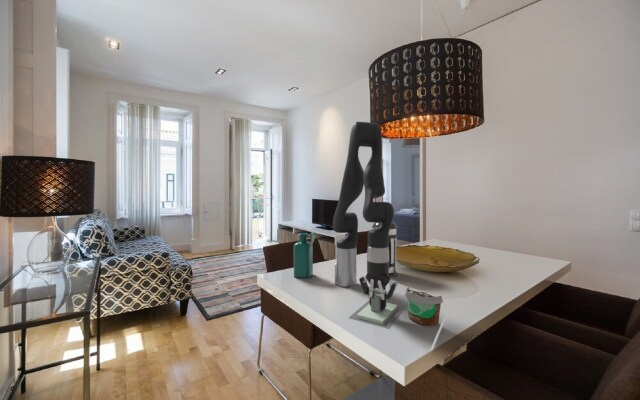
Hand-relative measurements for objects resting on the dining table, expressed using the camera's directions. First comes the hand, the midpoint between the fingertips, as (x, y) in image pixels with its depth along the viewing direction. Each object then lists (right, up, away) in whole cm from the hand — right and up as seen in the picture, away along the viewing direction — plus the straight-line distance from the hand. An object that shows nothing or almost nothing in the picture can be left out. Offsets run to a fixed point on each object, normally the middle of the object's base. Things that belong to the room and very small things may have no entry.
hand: (377, 307), depth 98 cm
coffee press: (+14, -1, +48) cm, 50 cm away
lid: (0, -2, 0) cm, 2 cm away
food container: (+12, -3, -7) cm, 14 cm away
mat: (0, -2, 0) cm, 2 cm away
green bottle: (-28, -1, +45) cm, 53 cm away
